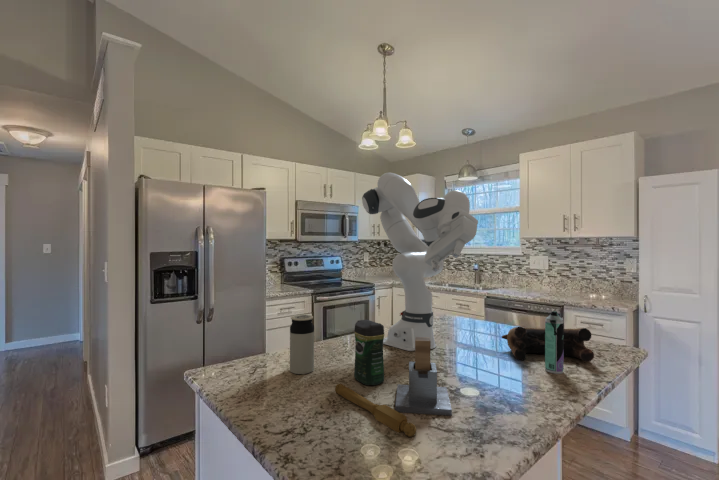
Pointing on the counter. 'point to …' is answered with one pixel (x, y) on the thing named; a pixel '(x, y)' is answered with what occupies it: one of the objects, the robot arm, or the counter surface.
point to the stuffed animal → (535, 342)
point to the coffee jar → (369, 352)
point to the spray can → (554, 344)
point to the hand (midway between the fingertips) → (445, 263)
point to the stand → (423, 393)
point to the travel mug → (301, 344)
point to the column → (422, 353)
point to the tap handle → (379, 411)
